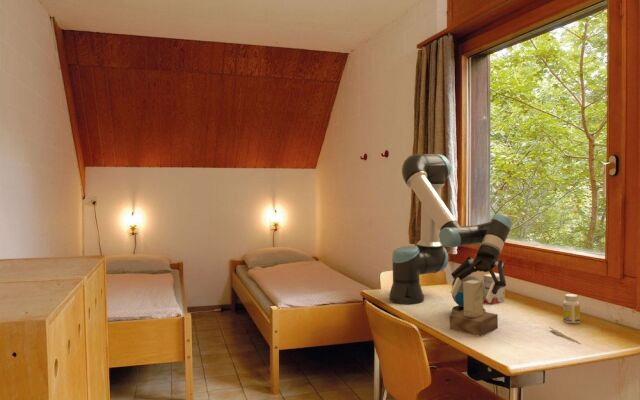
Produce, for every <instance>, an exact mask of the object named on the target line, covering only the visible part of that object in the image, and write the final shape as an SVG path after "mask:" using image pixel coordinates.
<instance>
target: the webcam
mask: <svg viewBox="0 0 640 400" xmlns="http://www.w3.org/2000/svg"><path fill="white" fill-rule="evenodd" d="M469 280H478V281H481V280H480V279H479V278H478V277H475V276H473V275H468V276H467V277H465V278H464V279H462V280H461V285H460V287H459V289H458V292H457V294H456V296H455V297H454V296H453V295H452V294H451V297H452V299H453V301H454V302H455V304H456V305H455V306H453V307H452V309H451V313H452V314H454V313H457V312H459V311H462V310H464V294H463V282H465V281H469ZM452 288H453V285H452V287H451V289H452ZM485 297H486V290H485V287H484V284H483V303H485V302H484V300H485ZM483 312H487V310H486V309H485V307H483ZM452 314H451V315H452Z"/></svg>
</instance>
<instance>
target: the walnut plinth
mask: <svg viewBox="0 0 640 400" xmlns="http://www.w3.org/2000/svg"><path fill="white" fill-rule="evenodd" d="M498 323H499V320H498V314H497V313H494V312H493V313H491V312H488V311H486V312H483V315H481V316H478V317H475V318H473V317H468V316H464V310H462V311H459V312H457V313H454V314H450V315H449V330H452V331H456V332H461V333H465V334H468V333H469V334H468V335H472V336H477V335H478V337H483V336H485V335H487V334H489V333H491V332H493V331H495V330H497V329H498V328H499V327H498V326H499V325H498ZM482 335H483V336H482Z"/></svg>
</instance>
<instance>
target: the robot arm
mask: <svg viewBox="0 0 640 400" xmlns="http://www.w3.org/2000/svg"><path fill="white" fill-rule="evenodd" d="M451 173H452V167H451V162H450V161H449V159H448V158H447V157H446V156H445V155H443V154H438V153H414V154H412V155H409V156H408V157H407V158H406V159H405V160H404V161H403V164H402V166H401V175H402V178H403V180H404V182H405V184H406V186H407V187H408V188H409V189H412V190H413V192H414V193H415V195H416V197H418V200H419V201H420V203H421V205H420V206H421V207H420V209H421V211H420V212H421V214H420V240H419V241H417V242H416V245H415V246H414V245H407V246H406V245H405V246H400V247H397V248H395V249H394V250H393V251H392V259H391V261H392V285H391V287H390V292H389V295H388V296H389V298H388V299H389V301H390V302H392V303H393V304H394V303H395V304H400V305H402V304H403V305H414V304H420V303H422V302H424V300H425V299H424V297H425V295H424V293H423V289H422V286H421V284H420V275H421V276H422V275H426V274H435V273H438V272H442V271H444V270H445V269H446V267H447V266H448V263H449V254H448V253H449V252H447V251H448V250H447V249H446V248H456V247H457V248H458V247H463V246H476V245H479V248H478V250H477V252H476V257H474V258H472V257H471V256H467V257H466V258H465V261H463V262H462V264H460V265H459V266H458V267H457V268H456V269H455V270H454V271H452V273H451V275H450V276H451V277H452V278H453V281H452V284H451V285H452V286H453V288H452V287H451V290H450V294H451V296H452V295H453V296H454V297H455V296H456V294H457V292H458V289H459V287H460V285H461V280H462V279H464V278H465V277H467V276H471V275H472V274H473V273H476V272H484V273H487V272H489V274H491V276H492V278H493V280H494V282H495V284H494V283H492V284H491V286H490V289H489V291H488V294H487V296H486V300H487V301H488V303H487V304H490V303H491V301H492V298H493V296H494V294H497V291H498V289H499V287H500V286H505V287H506V286H507V282H506V277H505V276H504V275H505V272H504V267H505V264H504V261H502V260H501V259H500V260H498V259H499V257H500V255H501V253H502V251H503V247H504V245H505V243H506V240H507V239H508V236H509V234H510V232H511V228H512V226H513V221H512V219H511V218H510V217H509V215H506V214H504V213H496V214H494V215H493V216H492V218H491V220H490V221H488V222H485V223H481V224H475V225H473V224H472V225H465V226H461V225H460V224H459V223H458V221H457V220H456V217H454V215H453V214H452V212H451V211H450V209H449V208H448V206H447V205H446V204H445V202H444V200H443V199H442V188H443V187H444V186H445V184H446V180H447V179H449V177H450V175H451ZM495 267H497V269H498V270H497V271H498V274H499V277H500V281H498V280H497V278H496V276H495V274H494V273H495V271H494V270H493V269H494V268H495Z"/></svg>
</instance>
